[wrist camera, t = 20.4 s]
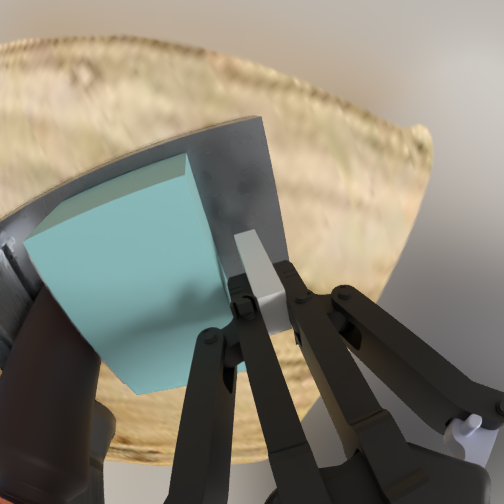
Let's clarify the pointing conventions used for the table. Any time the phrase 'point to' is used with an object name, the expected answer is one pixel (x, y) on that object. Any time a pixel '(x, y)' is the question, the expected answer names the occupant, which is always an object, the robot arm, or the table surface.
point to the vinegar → (46, 409)
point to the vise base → (210, 191)
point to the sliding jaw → (136, 272)
